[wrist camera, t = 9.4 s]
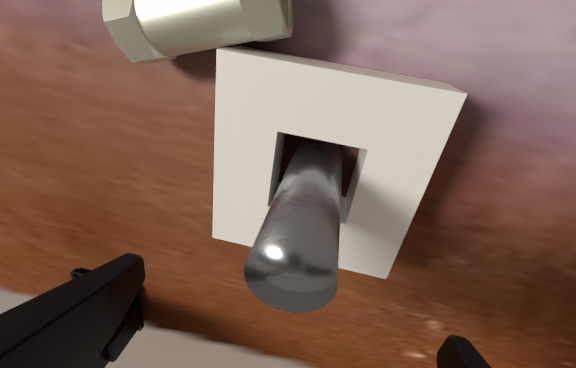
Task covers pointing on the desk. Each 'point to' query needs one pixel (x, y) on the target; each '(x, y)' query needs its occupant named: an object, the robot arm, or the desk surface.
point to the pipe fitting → (192, 25)
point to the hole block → (332, 128)
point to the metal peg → (300, 233)
